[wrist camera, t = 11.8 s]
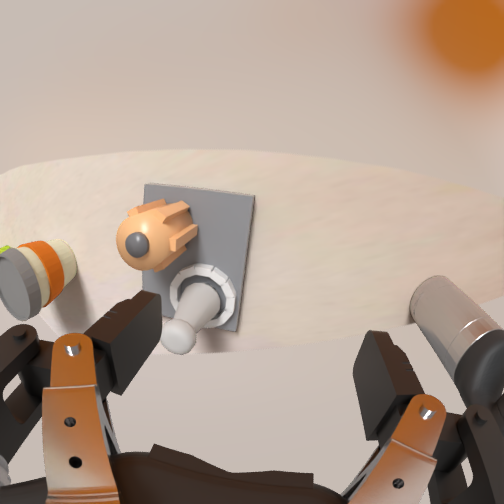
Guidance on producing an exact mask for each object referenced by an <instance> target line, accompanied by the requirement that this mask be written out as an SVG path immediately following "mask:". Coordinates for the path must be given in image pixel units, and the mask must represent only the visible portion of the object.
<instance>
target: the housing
mask: <svg viewBox="0 0 504 504" xmlns="http://www.w3.org/2000/svg"><path fill="white" fill-rule="evenodd" d="M254 199H255V195H250V194H242V193H235V192H228V191H220V190H212V189H203V188H195V187H186V186H176V185H166V184H155V183H149V184H145V186H144V203H143V205H141V206H137V207H135V208H133V209H131V210H129V211H128V212H127V213H128V215H129V218H127V219H125V220H124V221H123V222H122V223H121V224H120V226H119V228H118V231H117V235H116V243H117V248H118V251H119V254H120V255H121V257H122V259H123V260H124V261H125V262H126V263H127V264H128V265H129V266H131V267H132V268H134V269H137V270H141V271H142V280H143V290H145V291H149V292H153V293H157V294H160V295H161V299H162V316H166V317H170V318H174V315H175V313H176V310H177V307H178V304H179V301H180V298H181V296H182V293H183V292H184V290H185V288H186V287H187V286H189V285H191V284H193V283H203V282H206V283H208V284H209V285H211V286H212V287H214V288H216V290H217V293H218V295H219V298H220V310H219V311H218V313H217V314H216V315H215V316H214V317H213V318H212V319H211V320H210V321H209V322H208V323H207V324H206V325H205V326H204V327H202V328H207V327H208V329H209V328H212V327H214V328H219V329H224V330H229V331H234V332H236V329H237V326H238V320H239V312H240V304H241V297H242V289H243V281H244V274H245V266H246V259H247V251H248V243H249V236H250V228H251V221H252V213H253V206H254Z"/></svg>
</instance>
